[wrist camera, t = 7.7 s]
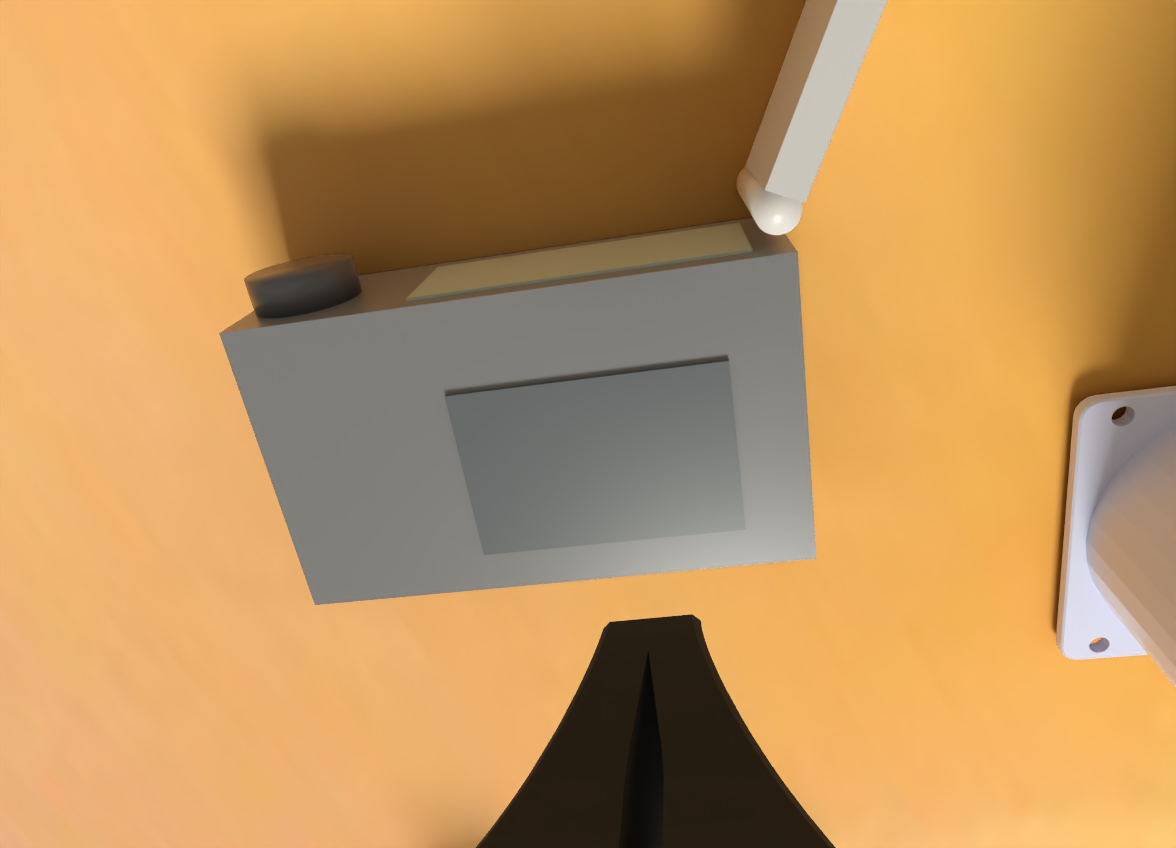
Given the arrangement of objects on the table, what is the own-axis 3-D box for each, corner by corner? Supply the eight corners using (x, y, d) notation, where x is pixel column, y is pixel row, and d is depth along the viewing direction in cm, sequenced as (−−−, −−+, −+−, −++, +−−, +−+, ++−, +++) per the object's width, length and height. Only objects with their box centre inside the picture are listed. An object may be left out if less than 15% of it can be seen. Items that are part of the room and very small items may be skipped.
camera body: (768, 179, 19) (795, 211, 16) (790, 475, 22) (816, 561, 19) (284, 253, 21) (204, 298, 17) (367, 520, 24) (313, 607, 20)
